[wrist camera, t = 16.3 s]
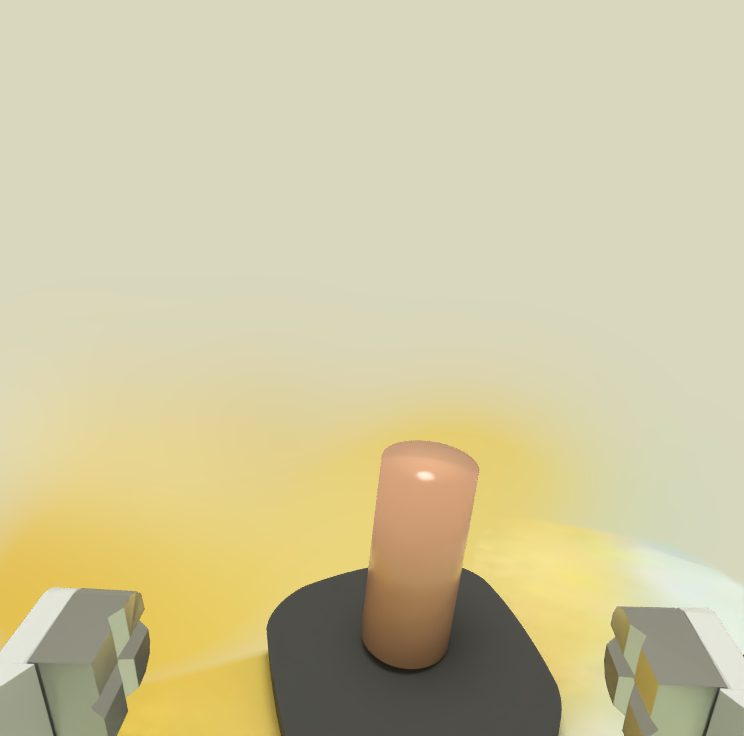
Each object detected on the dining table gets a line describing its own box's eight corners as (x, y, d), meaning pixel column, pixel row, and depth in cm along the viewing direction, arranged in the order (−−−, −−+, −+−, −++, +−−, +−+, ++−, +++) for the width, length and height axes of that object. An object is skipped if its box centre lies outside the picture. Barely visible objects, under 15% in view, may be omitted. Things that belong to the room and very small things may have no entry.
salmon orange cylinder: (347, 615, 36) (365, 446, 32) (420, 596, 38) (444, 436, 35) (386, 680, 32) (412, 494, 28) (465, 654, 34) (499, 479, 30)
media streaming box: (303, 862, 27) (299, 817, 26) (260, 623, 40) (256, 586, 39) (588, 767, 31) (596, 725, 30) (464, 578, 44) (467, 543, 43)
